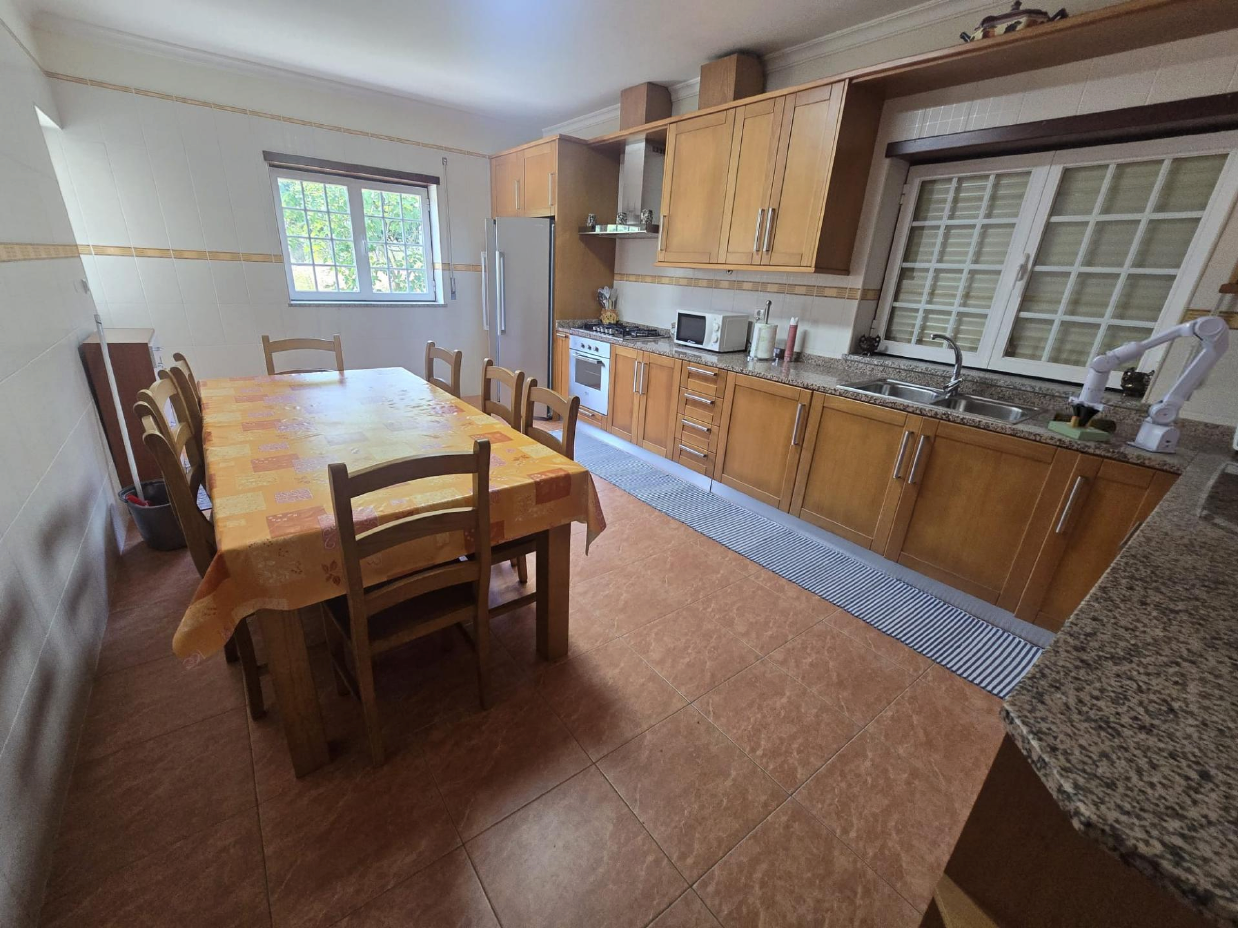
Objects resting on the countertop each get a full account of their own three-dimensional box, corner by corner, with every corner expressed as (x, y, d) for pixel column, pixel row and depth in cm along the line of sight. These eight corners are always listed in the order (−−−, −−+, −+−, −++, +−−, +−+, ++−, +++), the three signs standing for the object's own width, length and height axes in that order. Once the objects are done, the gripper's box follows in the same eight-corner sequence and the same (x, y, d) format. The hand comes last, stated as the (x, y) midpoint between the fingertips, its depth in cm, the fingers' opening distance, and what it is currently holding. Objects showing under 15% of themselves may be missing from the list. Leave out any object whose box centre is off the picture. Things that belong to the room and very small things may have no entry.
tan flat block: (1085, 426, 185) (1089, 417, 184) (1088, 427, 184) (1092, 418, 183) (1068, 425, 185) (1072, 415, 184) (1071, 426, 184) (1075, 416, 183)
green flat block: (1106, 441, 179) (1109, 432, 178) (1077, 439, 179) (1080, 431, 178) (1073, 430, 192) (1077, 422, 191) (1047, 428, 192) (1050, 420, 191)
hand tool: (1051, 421, 205) (1055, 410, 203) (1053, 420, 207) (1058, 409, 205) (1112, 433, 191) (1117, 422, 189) (1114, 432, 193) (1119, 420, 192)
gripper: (1066, 384, 187) (1052, 419, 191) (1099, 392, 173) (1084, 430, 178) (1085, 385, 186) (1071, 421, 191) (1120, 394, 173) (1104, 431, 178)
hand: (1079, 425), depth 184 cm, fingers closed on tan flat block
